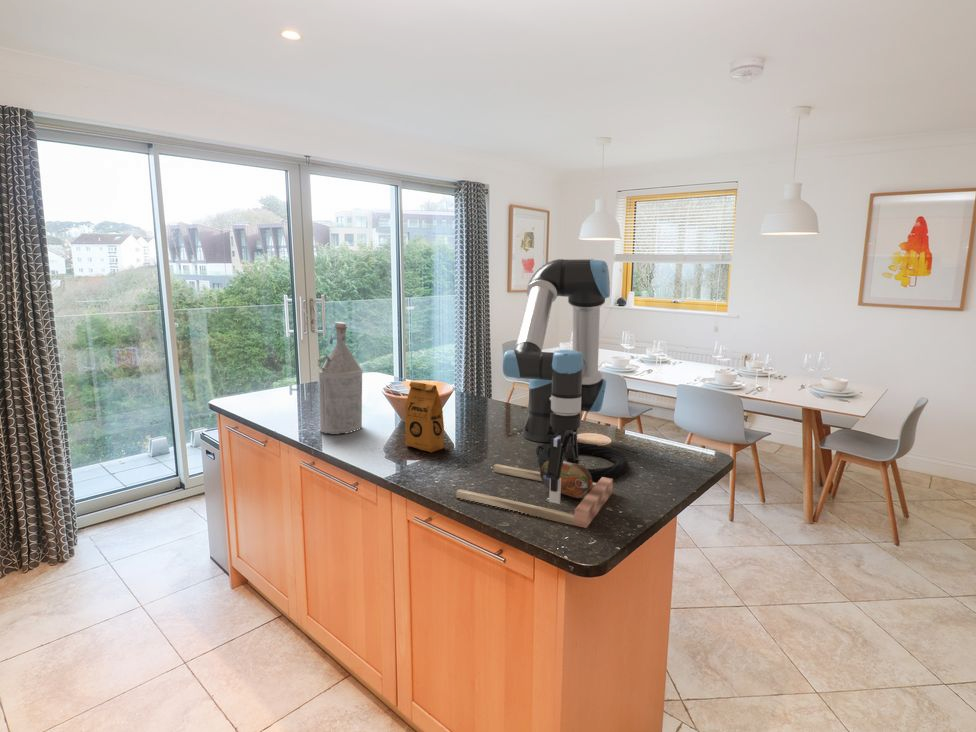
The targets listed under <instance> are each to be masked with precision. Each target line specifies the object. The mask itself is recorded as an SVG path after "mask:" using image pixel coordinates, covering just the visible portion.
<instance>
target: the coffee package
mask: <svg viewBox="0 0 976 732" xmlns="http://www.w3.org/2000/svg"><path fill="white" fill-rule="evenodd" d="M409 387H410V388H409V391H408V394H407V398H406V401H405V405H404V422H405V427H404V429H405V446H408V447H412V448H414V449H417V450H420V451H424V452H429V453H433V452H436V451H439V450H440V451H441V450H442V449H444V432H445V431H444V430H445V425H444V424H445V423H444V414H443V413H444V412H443V405H442V402H441V398H440V395H439V391H438V388H437V385H435V384H429V383H423V382H416V381H412V380H411V381H410V383H409Z"/></svg>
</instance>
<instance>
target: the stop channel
mask: <svg viewBox="0 0 976 732" xmlns="http://www.w3.org/2000/svg"><path fill="white" fill-rule="evenodd" d="M493 473H499V474H502V475H509V476H512V477H519V478H522V479H527V480H533V481H538V482H543V481H542V479H541V475H540V471H537V470H531V469H525V468H520V467H516V466H510V465H504V464H499V463H496V464H494V465H493ZM592 482H593V484H592V489H591V491H590V492H589V493H588V494H586V495H585V496H584V497H583V499H582V500H581V501H580V502H579V503H578V505H577V506H576V507H575V508H574V513H571V512H566V511H562V510H558V509H557V510H556V509H552V508H547V507H543V506H540V505H539V506H537V505H534V504H529V503H525V502H521V501H516V500H512V499H508V498H507V499H506V498H504V497H502V498H501V497H497V496H493V495H489V494H485V493H479V492H475V491H470V490H467V489H462V488H459V489H457V490H456V497H457V498H461V499H460V500H462V499H466V500H470V501H469V502H471V501H475V502H479V503H484V504H489V505H492V506H497V507H501V508H505V509H509V510H508V511H510V510H513V511H512V512H514V511H518V512H521V513H520V514H523V513H525V514H524V515H527V514H529V515H528V516H532V517H536V516H537V518H540V517H541V519H545V520H550V521H553V522H557V523H563V524H567V525H571V526H577V527H580V528H584V529H587V528H588V527H589V525H590V524H591V523H592V521H593V520H594V519H595V517H596V515H598V513H599V511H601V509H602V508H603V506H604V505H605V503H606V502H607V501H608V499H609V498H610V497H611V496H612V494H613V487H614V486H613V484H614V478H606V477H602V478H601V479H600V480H599V481H597V482H595V481H592ZM457 498H456V499H457ZM466 500H465V501H466ZM475 502H474V503H475ZM479 503H478V504H479ZM484 504H483V505H484ZM492 506H491V507H492ZM497 507H496V508H497ZM501 508H500V509H501ZM505 509H504V510H505ZM518 512H517V513H518Z"/></svg>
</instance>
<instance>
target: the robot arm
mask: <svg viewBox="0 0 976 732" xmlns="http://www.w3.org/2000/svg"><path fill="white" fill-rule="evenodd" d="M610 285H611V283H610V272H609V266H608V264H607V262H606V261H605V260H602V259H601V260H599V259H598V260H597V259H593V258H592V259H590V258H589V259H562V258H559V259H553V260H551V261H549V262H547V263H545V264H543V265H542V266H541V267H539V268H538V269H537V270H536V271H535V273H534V274H533V275H532V276H531V277H530V279H529V282H528V283H527V286H526V287H527V288H526V296H527V300H526V304H525V308H524V312H523V315H522V320H521V323H520V327H519V331H518V335H517V339H516V342H515V346H514V349H508V350H505V352H504V355H503V357H502V358H503V359H502V371H503V372H502V373H503V374H504V376H505V377H508V378H512V379H513V378H515V379H526V380H528V379H529V386H528V391H529V392H528V414H527V418H526V420H525V423H524V426H523V429H522V437H524V439H527V440H528V441H534V442H539V443H550V445H551V448H550V455H549V462H548V469H547V474H546V477H547V478H550V489H549V493H548V502H549V503H553V504H557V505H560V504H561V494H562V493H561V478H560V474H561V469H562V465H563V461H566V462H570V463H573V464H577V465H579V464H580V460H579V454H578V443H579V441H578V430H579V428H580V427H581V412H587V413H589V412H590V413H593V412H594V413H598V412H600V411H601V410H602V406H603V403H604V399H605V392H606V386H607V380H606V379H605V378H603V374H602V373H601V371H599V352H600V351H599V349H600V348H599V346H600V341H599V340H600V314H601V313H600V312H601V307H602V306H603V305H604V304H605V303H606V299H608V298H610V295H611V287H610ZM558 297H565V298H566V297H567V301H568V304H569V305H570V306H571V307H572V350H570V349H560V350H556V351H554V352H548V351H543V348H544V342H545V338H546V335H547V334H546V333H547V328H548V324H549V319H550V315H551V310H552V305H553V303H554V302H555V301H556V299H557V298H558ZM564 459H565V460H564ZM553 473H554V474H553Z"/></svg>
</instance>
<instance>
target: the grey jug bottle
mask: <svg viewBox="0 0 976 732" xmlns="http://www.w3.org/2000/svg"><path fill="white" fill-rule="evenodd" d="M347 325H348V324H347V323H346V322H345V321H335V322H334V328H333V330H336V332H334V331H333V332H331V333H330V334H331V335H330V339H329V341H328V342H329V344H330V345H333V342H334V341H333V340H335V339H336V344H335V346H334V347H333V349H332V351H331V352H330V354H329V355H321V356H320V357H319V358H318V360H317V366H318V367H319V368H320V369H319V371H318V375H319V376H318V379H319V380H318V381H319V382H318V385H319V388H318V389H319V423H320V425H319V426H320V430H319V431H320V432H321V433H323V432H324V433H323V434H327V433H331V434H330V435H340V434H339V433H345V434H347V433H346V432H350V433H352V432H351V431H354V430H357V429H359V428H361V429H362V427H363V423H362V422H363V421H362V420H363V417H362V416H363V369H362V368H361V366H360V365H359V363H358V362H357V360H356V359H355V357H354V356H353V354H352V352H351V351H350V350H349V348H348V346H347V344H346V340H347V337H346V334H347V329H348V327H347ZM333 334H334V335H335V337H333ZM323 358H326V360H325V361H324V363H323V364H322V360H323ZM359 430H360V429H359ZM357 431H358V430H357ZM354 432H355V431H354Z"/></svg>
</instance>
